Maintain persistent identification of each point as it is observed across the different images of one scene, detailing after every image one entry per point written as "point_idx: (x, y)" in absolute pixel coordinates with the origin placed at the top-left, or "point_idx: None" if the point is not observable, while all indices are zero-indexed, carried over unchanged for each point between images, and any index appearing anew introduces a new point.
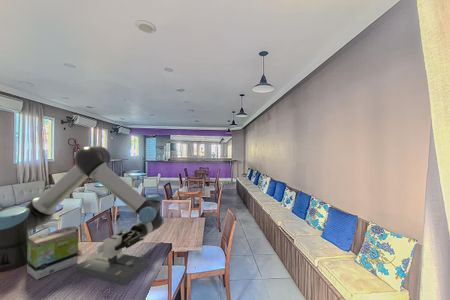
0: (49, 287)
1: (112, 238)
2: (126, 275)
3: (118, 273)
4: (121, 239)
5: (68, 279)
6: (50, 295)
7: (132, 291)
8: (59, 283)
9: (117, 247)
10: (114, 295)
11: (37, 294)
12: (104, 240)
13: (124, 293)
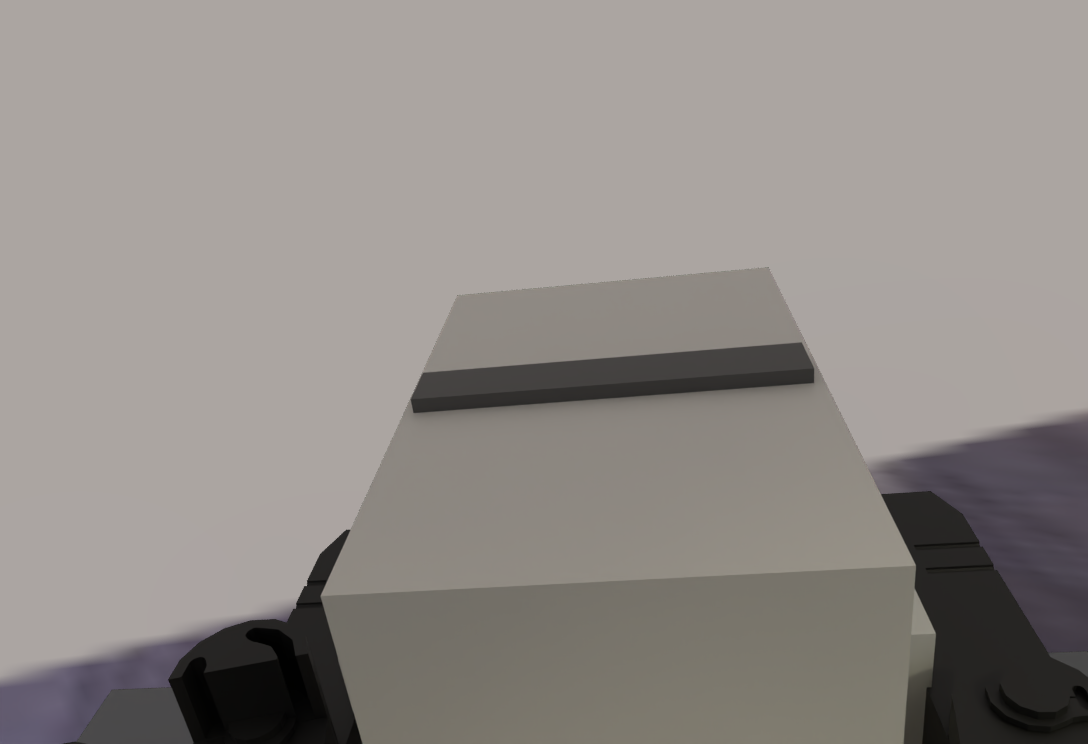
0: (1060, 501)
1: (595, 372)
2: (98, 728)
3: None
4: (367, 723)
5: (1078, 628)
6: (875, 463)
7: (10, 723)
8: (1062, 558)
9: (334, 552)
10: (219, 625)
11: (1009, 438)
12: (727, 273)
13: (109, 674)
